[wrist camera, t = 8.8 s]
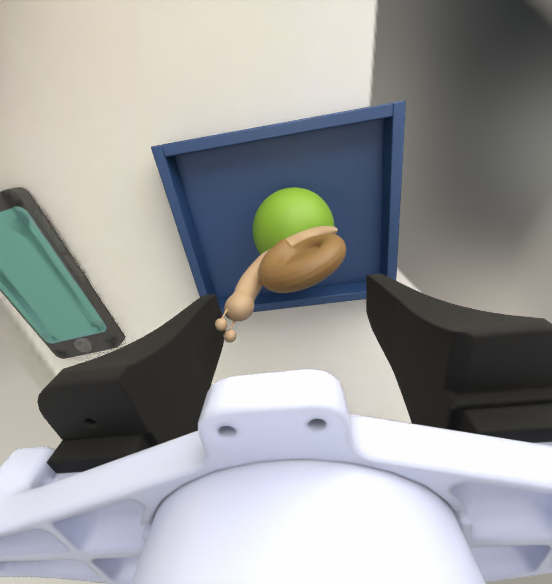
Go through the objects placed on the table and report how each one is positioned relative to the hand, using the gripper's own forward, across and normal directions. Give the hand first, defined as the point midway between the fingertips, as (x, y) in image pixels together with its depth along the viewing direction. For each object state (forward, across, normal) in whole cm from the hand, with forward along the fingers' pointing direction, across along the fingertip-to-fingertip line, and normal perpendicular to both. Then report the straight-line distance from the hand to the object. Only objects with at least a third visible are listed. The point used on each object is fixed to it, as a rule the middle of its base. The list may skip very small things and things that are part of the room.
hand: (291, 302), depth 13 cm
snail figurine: (+10, 0, -1) cm, 10 cm away
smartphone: (+10, +22, +1) cm, 24 cm away
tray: (+10, 0, -1) cm, 10 cm away
